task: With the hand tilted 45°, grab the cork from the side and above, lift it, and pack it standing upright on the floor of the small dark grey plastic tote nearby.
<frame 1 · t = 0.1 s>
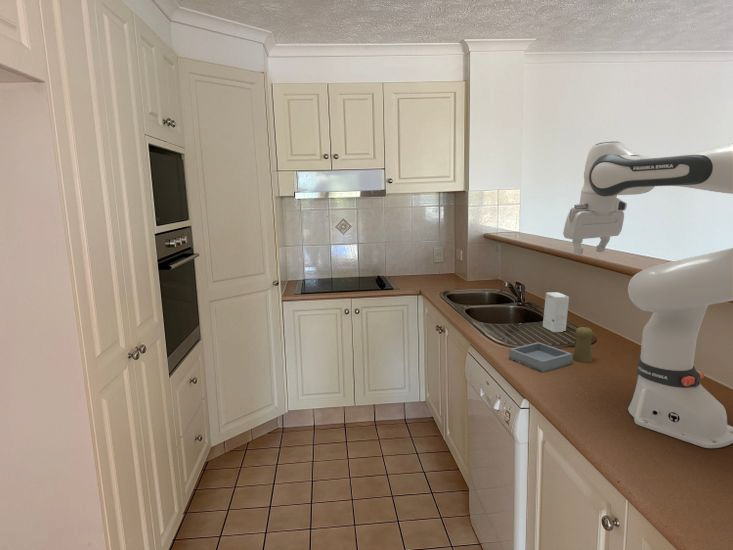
hand: (589, 253, 131), 39 cm above the worktop, tool pointing down, fingers open, 8 cm apart
cork: (582, 360, 157), on the worktop
tote: (539, 361, 156), on the worktop
skincare box: (554, 329, 191), on the worktop
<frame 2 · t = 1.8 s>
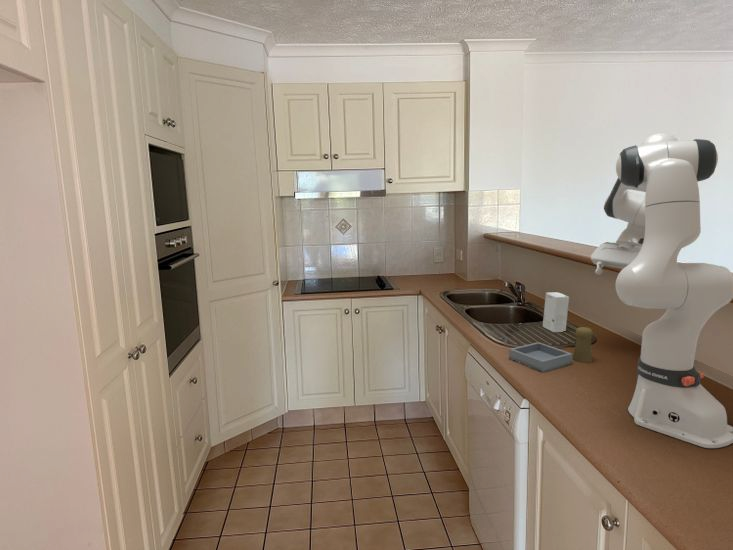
hand: (610, 275, 158), 27 cm above the worktop, tool tilted 45°, fingers open, 8 cm apart
nothing on the worktop moved.
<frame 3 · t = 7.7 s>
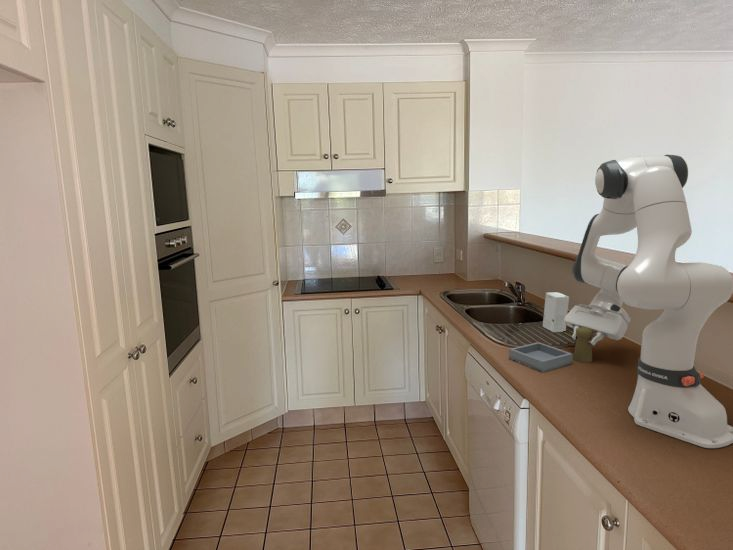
hand: (582, 341, 156), 6 cm above the worktop, tool tilted 45°, fingers closed on cork, 5 cm apart
cork: (582, 359, 157), on the worktop, touching gripper
everything else where it was.
when the fingers open (8 cm above the worktop, at t = 16.0 s): cork stays where it is, resting on tote.
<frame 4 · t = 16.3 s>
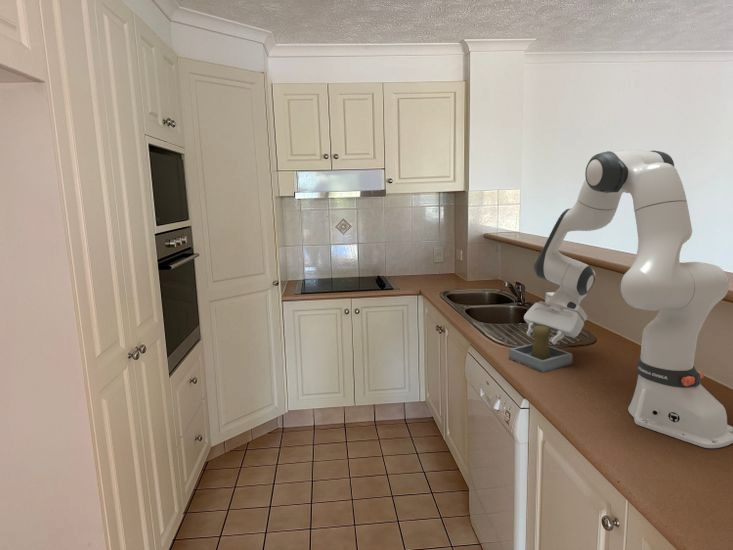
hand: (539, 339, 154), 8 cm above the worktop, tool tilted 45°, fingers open, 8 cm apart
cork: (540, 358, 156), point 1 cm above the worktop, touching tote
everything else where it was.
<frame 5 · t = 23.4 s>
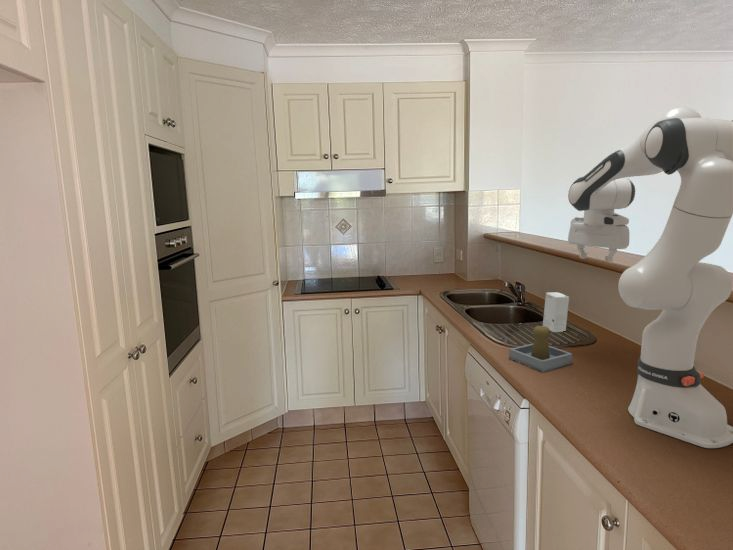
hand: (595, 259, 156), 33 cm above the worktop, tool pointing down, fingers open, 8 cm apart
nothing on the worktop moved.
at the end: cork inside the target area on the tote (0.1 cm from its centre), point 0.8 cm above the tote's base; cork tilted 0°; the gripper is holding nothing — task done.
